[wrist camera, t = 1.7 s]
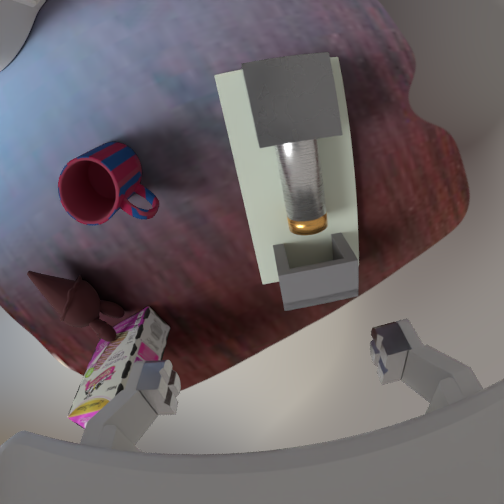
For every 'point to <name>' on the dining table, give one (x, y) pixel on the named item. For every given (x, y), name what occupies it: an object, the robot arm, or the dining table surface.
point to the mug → (104, 185)
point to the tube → (302, 186)
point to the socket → (318, 277)
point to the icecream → (78, 303)
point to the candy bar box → (118, 362)
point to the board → (270, 189)
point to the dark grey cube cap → (292, 98)
